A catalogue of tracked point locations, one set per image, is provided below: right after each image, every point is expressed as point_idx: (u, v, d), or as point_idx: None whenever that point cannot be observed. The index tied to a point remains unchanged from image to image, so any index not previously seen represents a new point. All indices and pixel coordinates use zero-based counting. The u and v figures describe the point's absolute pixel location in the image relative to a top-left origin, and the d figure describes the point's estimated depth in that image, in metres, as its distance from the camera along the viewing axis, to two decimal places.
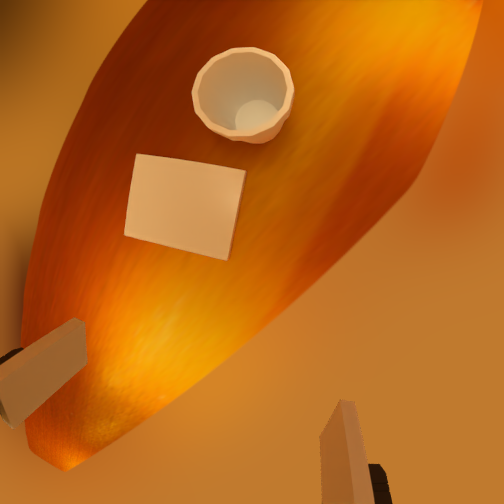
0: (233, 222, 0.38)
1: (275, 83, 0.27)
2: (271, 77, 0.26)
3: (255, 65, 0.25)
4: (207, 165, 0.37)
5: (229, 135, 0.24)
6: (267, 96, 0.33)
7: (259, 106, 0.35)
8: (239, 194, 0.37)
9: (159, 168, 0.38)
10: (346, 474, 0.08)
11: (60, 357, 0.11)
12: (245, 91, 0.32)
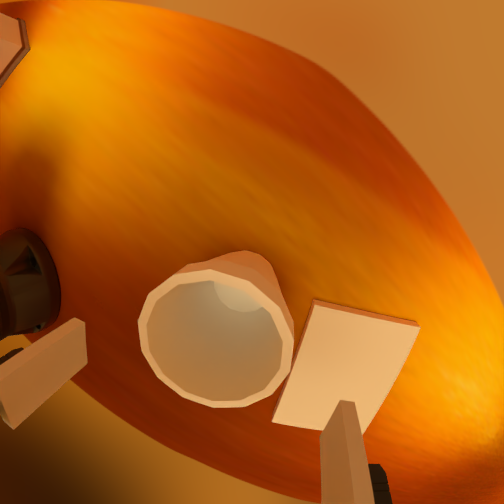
0: (378, 320, 0.26)
1: None
2: (185, 283, 0.20)
3: (167, 309, 0.19)
4: (301, 349, 0.28)
5: (288, 369, 0.16)
6: None
7: None
8: (345, 312, 0.27)
9: (296, 400, 0.29)
10: (346, 474, 0.08)
11: (60, 357, 0.11)
12: (203, 304, 0.25)
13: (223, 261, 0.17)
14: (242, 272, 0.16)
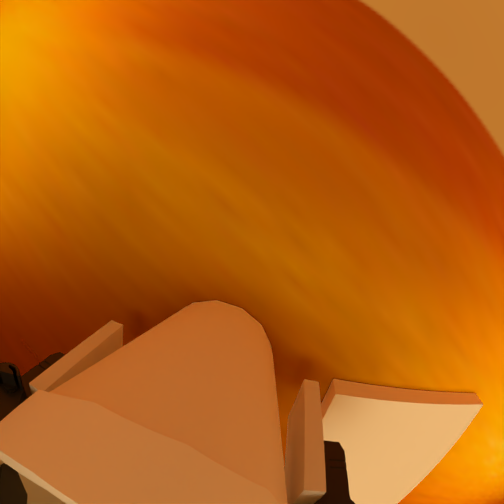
0: (431, 405, 0.14)
1: None
2: None
3: None
4: None
5: None
6: None
7: None
8: (384, 401, 0.14)
9: None
10: (301, 447, 0.09)
11: None
12: None
13: (97, 416, 0.04)
14: (136, 479, 0.03)
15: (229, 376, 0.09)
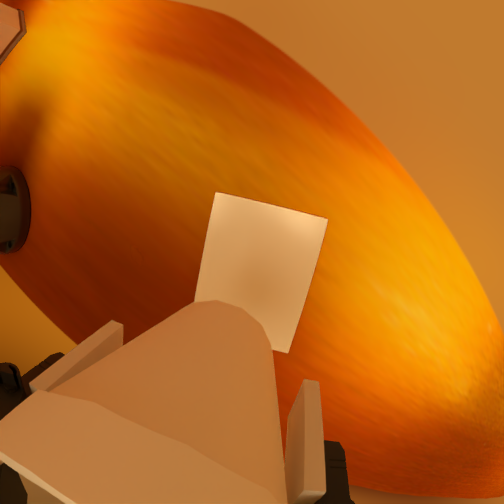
0: (279, 208, 0.30)
1: None
2: None
3: None
4: (207, 238, 0.31)
5: None
6: None
7: None
8: (244, 199, 0.30)
9: (209, 299, 0.33)
10: (301, 447, 0.09)
11: None
12: None
13: (96, 415, 0.04)
14: (135, 479, 0.03)
15: (229, 376, 0.08)
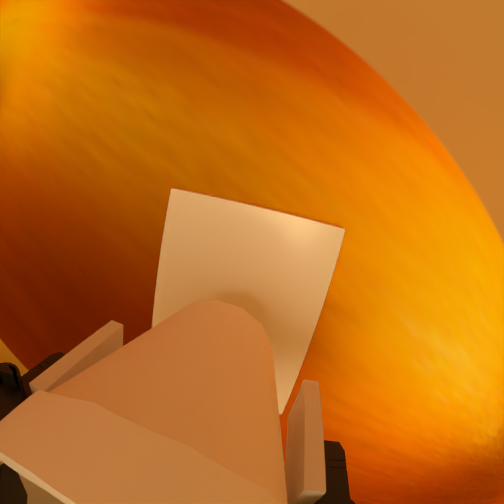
0: (268, 211, 0.19)
1: None
2: None
3: None
4: (162, 258, 0.20)
5: None
6: None
7: None
8: (213, 198, 0.19)
9: None
10: (301, 447, 0.09)
11: None
12: None
13: (96, 416, 0.04)
14: (136, 480, 0.03)
15: (229, 376, 0.08)
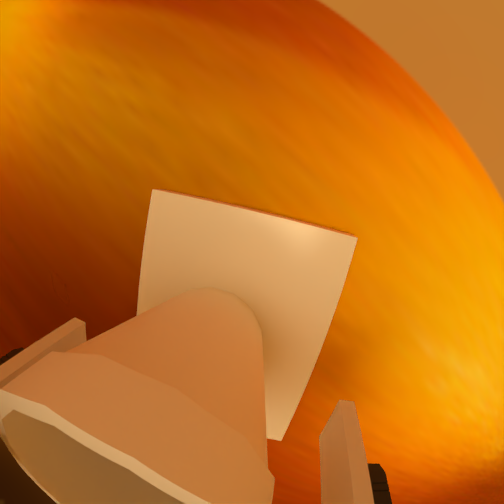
0: (265, 216, 0.16)
1: None
2: None
3: None
4: (143, 270, 0.17)
5: None
6: None
7: None
8: (201, 201, 0.16)
9: None
10: (345, 474, 0.08)
11: None
12: None
13: (103, 364, 0.06)
14: (131, 412, 0.05)
15: (217, 345, 0.10)
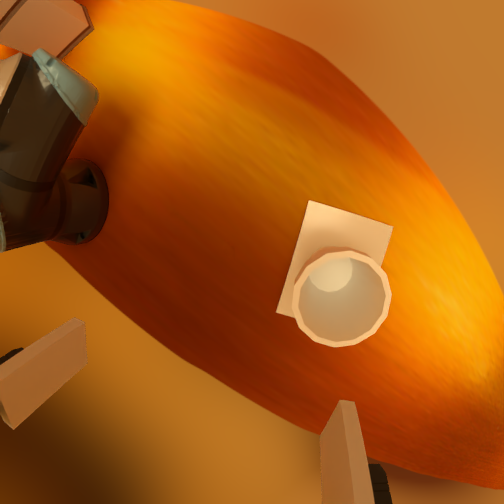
0: (358, 216, 0.36)
1: None
2: None
3: None
4: (300, 237, 0.38)
5: (386, 314, 0.25)
6: None
7: (316, 267, 0.38)
8: (331, 207, 0.37)
9: None
10: (346, 474, 0.08)
11: (60, 357, 0.11)
12: (307, 283, 0.35)
13: (349, 247, 0.27)
14: (363, 253, 0.25)
15: None
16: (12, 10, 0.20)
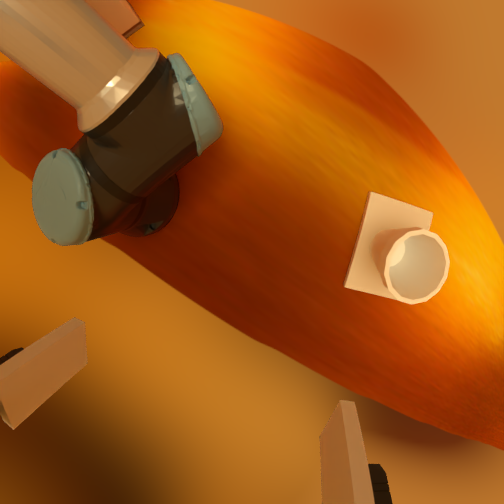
0: (407, 204, 0.42)
1: None
2: None
3: None
4: (364, 222, 0.44)
5: (446, 276, 0.31)
6: None
7: None
8: (388, 198, 0.42)
9: (361, 265, 0.45)
10: (346, 474, 0.08)
11: (60, 357, 0.11)
12: None
13: (418, 227, 0.32)
14: None
15: None
16: None
